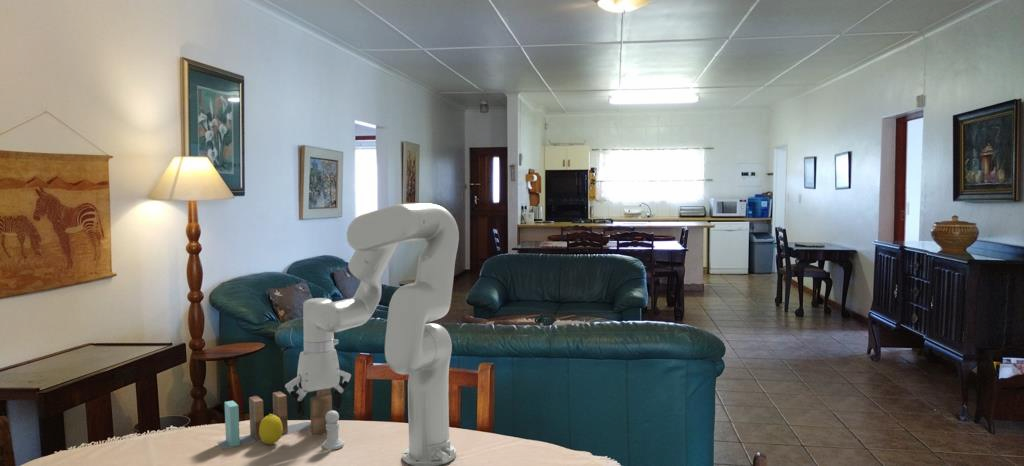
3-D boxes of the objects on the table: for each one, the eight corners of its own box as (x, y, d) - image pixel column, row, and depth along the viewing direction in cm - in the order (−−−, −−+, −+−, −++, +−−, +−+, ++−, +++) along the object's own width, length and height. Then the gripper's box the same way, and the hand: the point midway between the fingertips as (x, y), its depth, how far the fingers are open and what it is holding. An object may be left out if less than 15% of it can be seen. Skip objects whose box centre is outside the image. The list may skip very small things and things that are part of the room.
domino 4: (329, 430, 170) (328, 393, 169) (332, 432, 168) (331, 395, 168) (311, 435, 167) (309, 397, 166) (313, 437, 165) (312, 399, 165)
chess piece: (320, 451, 156) (319, 414, 156) (324, 442, 162) (323, 407, 161) (342, 450, 157) (341, 413, 156) (346, 441, 162) (345, 406, 162)
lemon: (275, 450, 157) (274, 418, 157) (254, 448, 158) (253, 417, 158) (287, 441, 163) (286, 410, 162) (267, 440, 164) (266, 409, 163)
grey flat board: (333, 424, 175) (333, 423, 175) (223, 450, 157) (223, 449, 157) (324, 418, 180) (324, 417, 180) (217, 443, 162) (216, 442, 162)
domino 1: (264, 438, 164) (263, 400, 163) (256, 440, 163) (254, 402, 162) (258, 433, 168) (257, 395, 167) (250, 435, 167) (249, 397, 166)
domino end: (239, 444, 160) (238, 405, 160) (231, 446, 159) (229, 406, 158) (234, 438, 164) (232, 400, 164) (225, 440, 163) (224, 402, 162)
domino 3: (331, 422, 175) (330, 386, 175) (324, 424, 174) (323, 388, 173) (324, 418, 179) (323, 382, 178) (317, 419, 178) (316, 384, 177)
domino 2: (287, 433, 168) (286, 395, 167) (280, 435, 166) (278, 397, 166) (281, 428, 172) (280, 391, 171) (273, 429, 170) (272, 392, 170)
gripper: (344, 339, 175) (344, 400, 176) (280, 348, 164) (281, 413, 165) (356, 344, 169) (356, 407, 170) (290, 354, 158) (291, 421, 159)
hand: (319, 410), depth 168 cm, fingers open, 9 cm apart
